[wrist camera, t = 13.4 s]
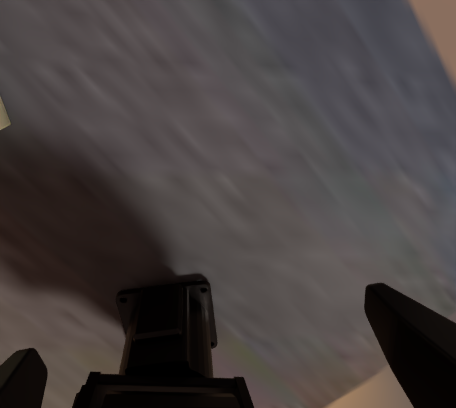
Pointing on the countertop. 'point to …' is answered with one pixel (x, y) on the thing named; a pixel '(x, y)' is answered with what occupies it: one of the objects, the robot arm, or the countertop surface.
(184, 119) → the countertop surface
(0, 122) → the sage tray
